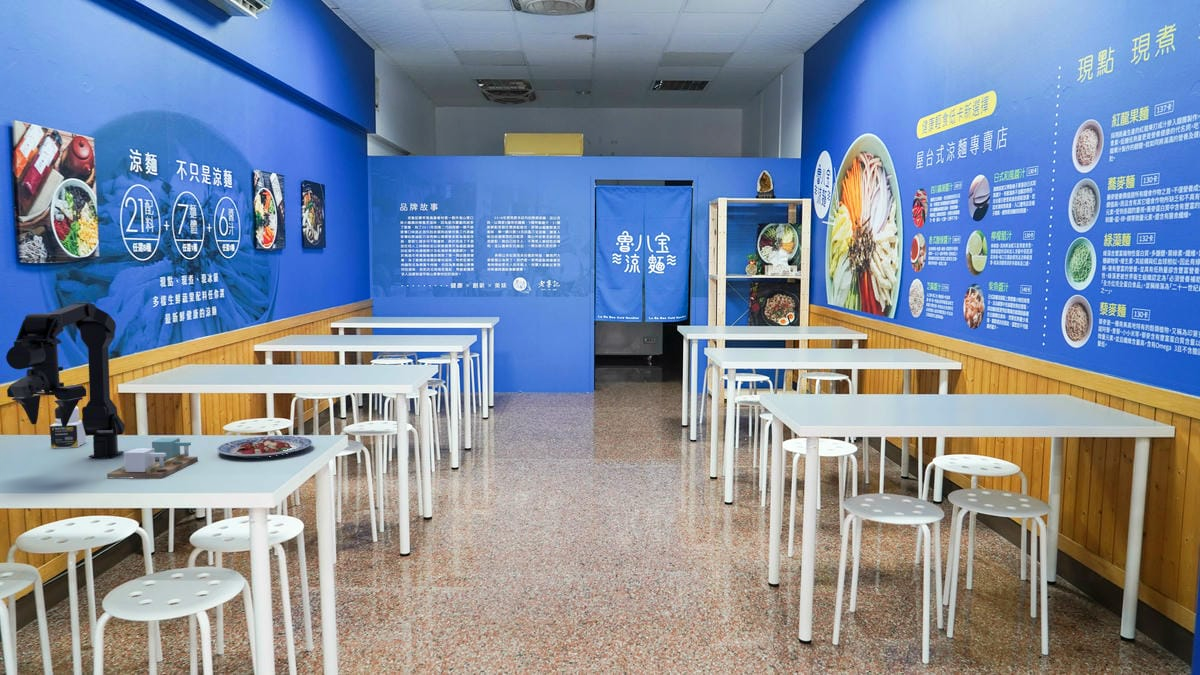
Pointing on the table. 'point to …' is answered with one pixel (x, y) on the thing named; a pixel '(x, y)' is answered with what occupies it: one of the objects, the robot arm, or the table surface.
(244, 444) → the ceramic plate
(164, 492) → the table surface
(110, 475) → the board
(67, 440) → the medicine bottle
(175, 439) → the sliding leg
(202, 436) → the table surface
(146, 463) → the fixed leg
